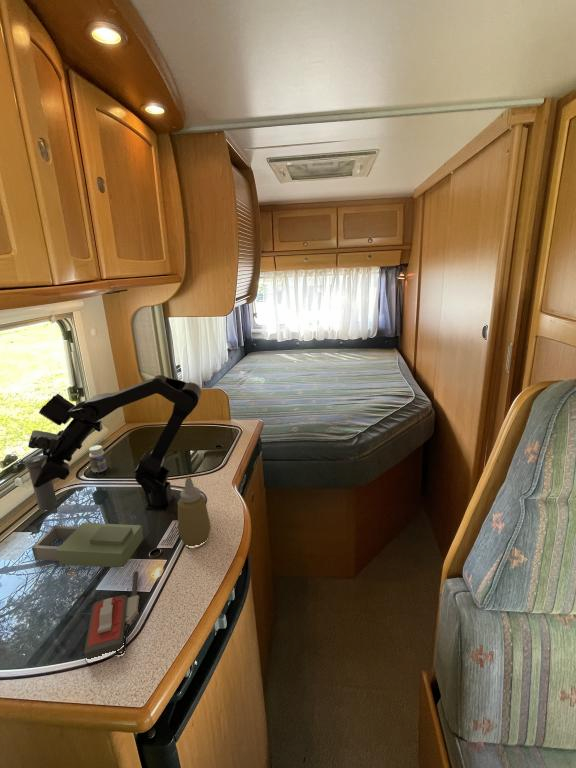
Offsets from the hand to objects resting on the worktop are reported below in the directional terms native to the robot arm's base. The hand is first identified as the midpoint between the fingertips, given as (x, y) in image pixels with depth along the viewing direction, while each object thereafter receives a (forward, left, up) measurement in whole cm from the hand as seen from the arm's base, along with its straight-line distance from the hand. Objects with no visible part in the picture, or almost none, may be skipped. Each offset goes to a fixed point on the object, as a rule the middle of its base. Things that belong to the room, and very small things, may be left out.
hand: (35, 482), depth 101 cm
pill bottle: (+2, -29, -13) cm, 32 cm away
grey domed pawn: (-1, -1, -8) cm, 8 cm away
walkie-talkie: (-35, +27, -13) cm, 46 cm away
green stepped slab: (-19, +9, -13) cm, 24 cm away
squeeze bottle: (-44, +4, -13) cm, 46 cm away
